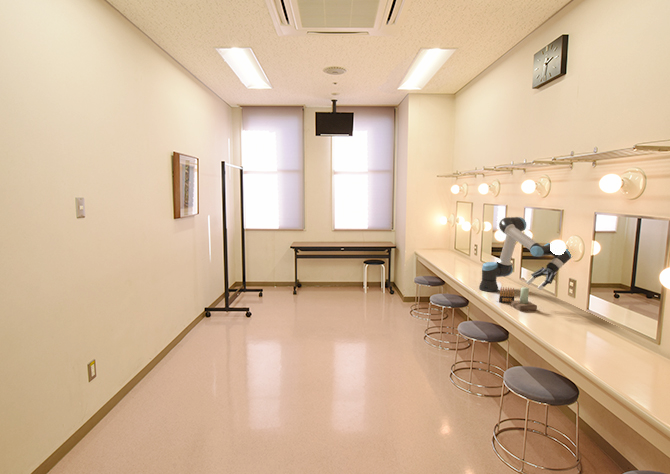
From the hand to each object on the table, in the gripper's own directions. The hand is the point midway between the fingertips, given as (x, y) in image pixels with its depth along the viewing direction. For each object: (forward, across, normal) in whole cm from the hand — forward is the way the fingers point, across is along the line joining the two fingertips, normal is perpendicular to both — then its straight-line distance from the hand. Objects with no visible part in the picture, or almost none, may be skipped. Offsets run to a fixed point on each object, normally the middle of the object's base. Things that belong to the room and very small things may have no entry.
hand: (532, 286), depth 257 cm
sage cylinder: (+13, +1, -5) cm, 14 cm away
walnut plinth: (+16, 0, -8) cm, 17 cm away
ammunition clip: (+20, +14, -4) cm, 25 cm away
